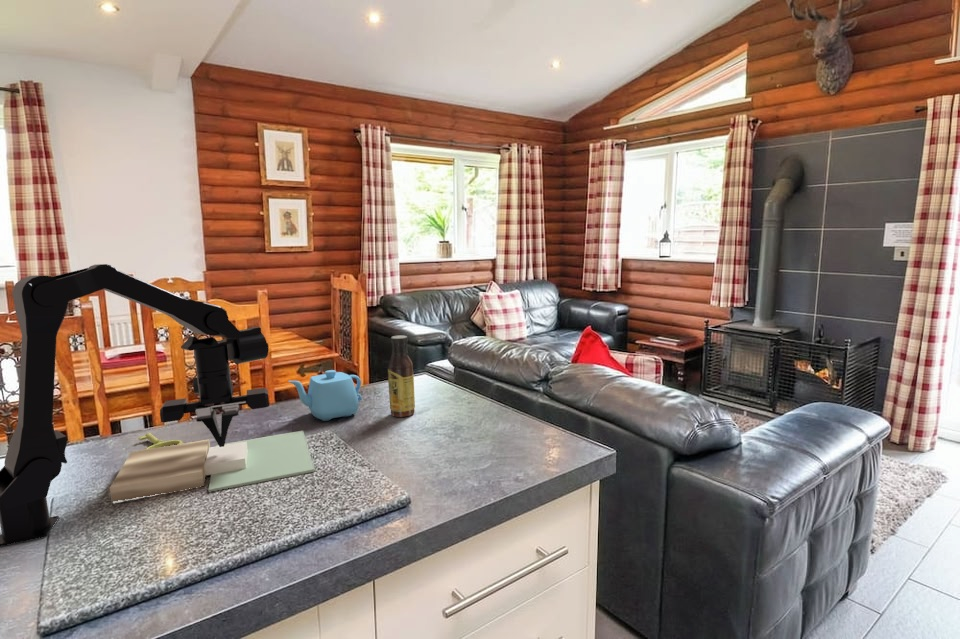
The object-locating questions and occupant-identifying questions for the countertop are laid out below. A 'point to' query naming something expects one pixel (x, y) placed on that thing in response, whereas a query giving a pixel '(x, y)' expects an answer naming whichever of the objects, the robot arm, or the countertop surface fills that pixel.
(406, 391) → the sauce bottle
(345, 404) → the teapot
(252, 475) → the mat
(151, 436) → the key
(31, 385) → the robot arm
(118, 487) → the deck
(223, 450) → the white flat block
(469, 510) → the countertop surface
